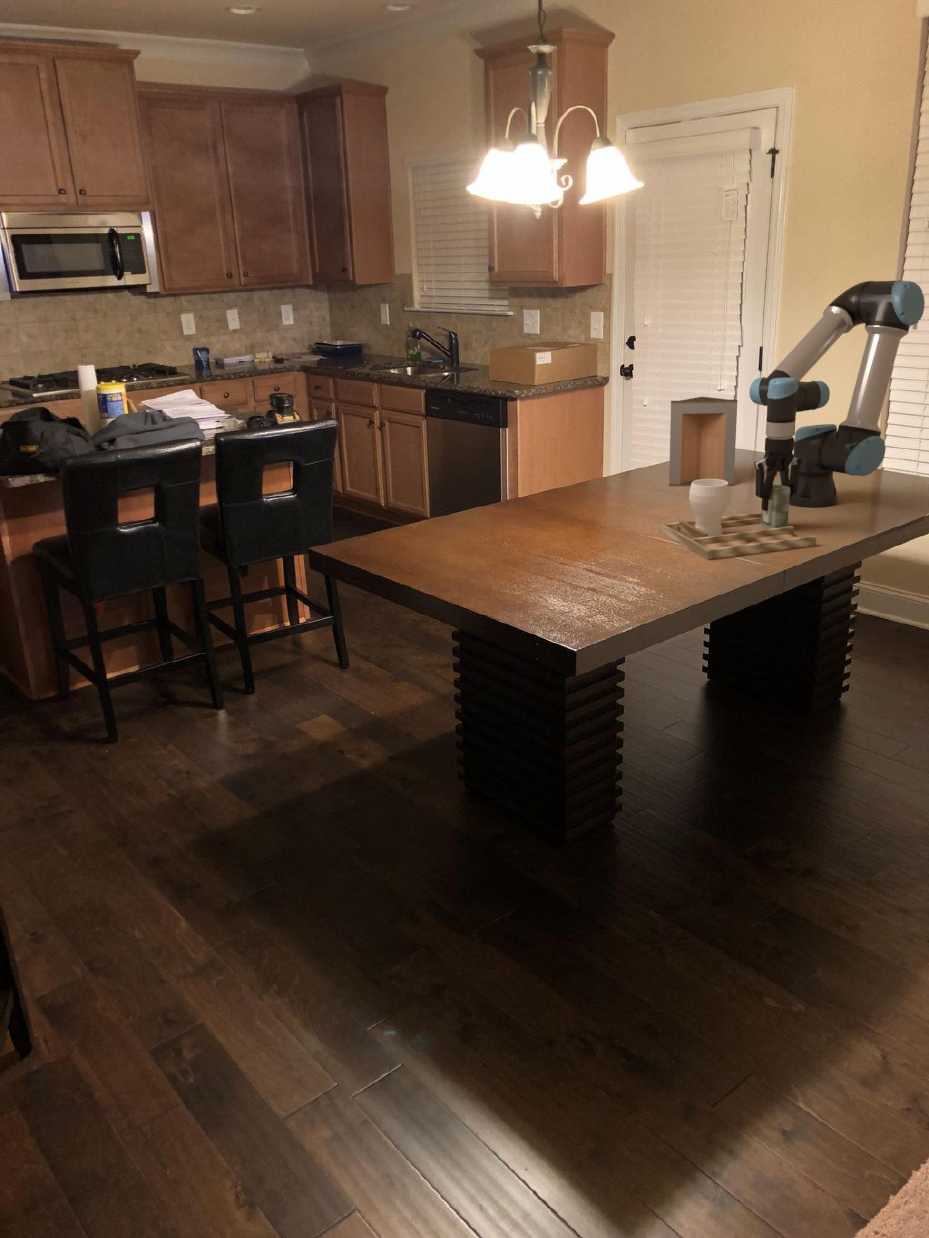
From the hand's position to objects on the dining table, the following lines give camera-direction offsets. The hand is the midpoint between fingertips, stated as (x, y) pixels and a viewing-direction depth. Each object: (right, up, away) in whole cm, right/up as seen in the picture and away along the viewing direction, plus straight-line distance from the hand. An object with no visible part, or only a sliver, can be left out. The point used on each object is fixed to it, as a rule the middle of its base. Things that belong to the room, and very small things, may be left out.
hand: (774, 520), depth 272 cm
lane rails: (-13, -6, -7) cm, 16 cm away
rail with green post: (-12, -4, -2) cm, 13 cm away
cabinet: (-7, +18, +57) cm, 60 cm away
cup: (-20, -5, -4) cm, 20 cm away
